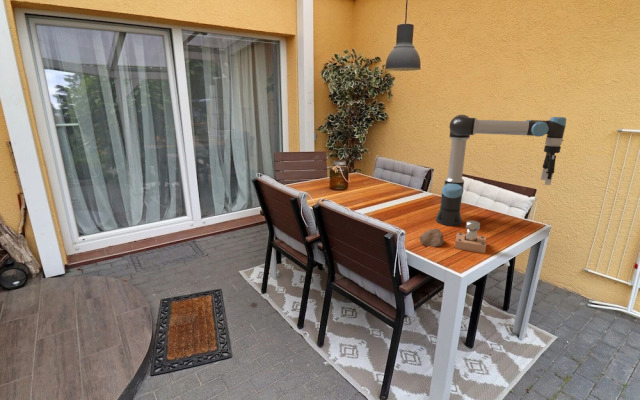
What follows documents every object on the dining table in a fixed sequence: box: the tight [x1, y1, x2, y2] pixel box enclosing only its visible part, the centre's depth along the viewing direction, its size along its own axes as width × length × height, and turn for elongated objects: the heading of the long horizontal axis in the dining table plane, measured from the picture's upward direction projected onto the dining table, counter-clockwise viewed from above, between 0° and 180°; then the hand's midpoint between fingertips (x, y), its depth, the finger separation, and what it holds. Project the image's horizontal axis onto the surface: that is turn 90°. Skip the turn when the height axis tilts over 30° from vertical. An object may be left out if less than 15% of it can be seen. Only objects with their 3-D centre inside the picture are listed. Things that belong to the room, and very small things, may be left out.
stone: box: [419, 228, 445, 248], centre depth 174 cm, size 12×9×10 cm
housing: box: [454, 232, 487, 254], centre depth 170 cm, size 14×12×6 cm
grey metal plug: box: [465, 219, 481, 242], centre depth 169 cm, size 6×6×13 cm
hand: (545, 182), depth 191 cm, fingers open, 13 cm apart
